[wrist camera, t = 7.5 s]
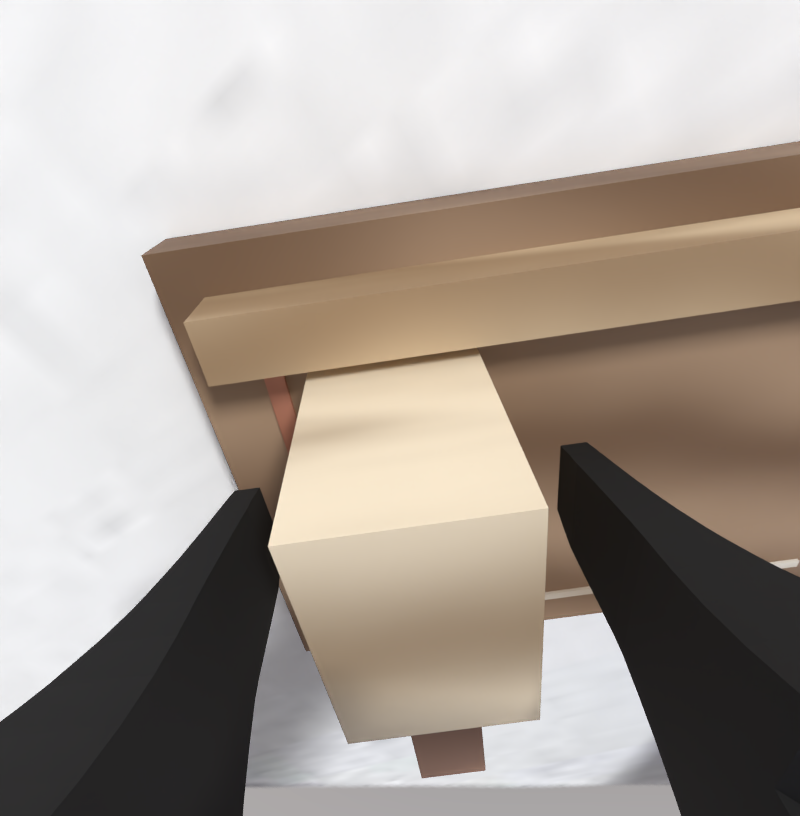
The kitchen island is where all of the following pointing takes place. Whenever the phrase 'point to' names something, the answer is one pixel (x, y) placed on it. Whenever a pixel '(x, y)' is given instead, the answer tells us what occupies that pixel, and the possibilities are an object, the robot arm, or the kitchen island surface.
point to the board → (535, 331)
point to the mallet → (415, 554)
